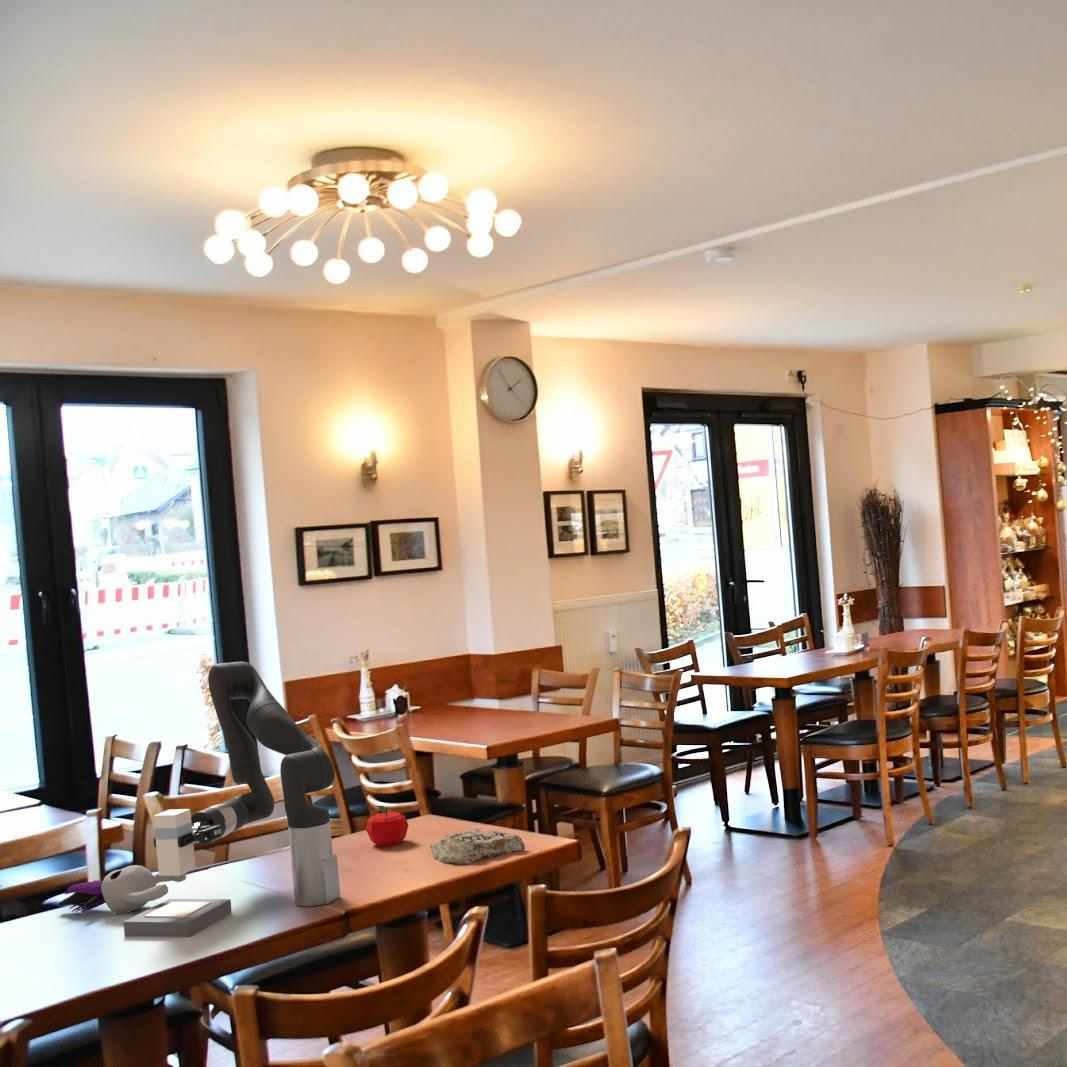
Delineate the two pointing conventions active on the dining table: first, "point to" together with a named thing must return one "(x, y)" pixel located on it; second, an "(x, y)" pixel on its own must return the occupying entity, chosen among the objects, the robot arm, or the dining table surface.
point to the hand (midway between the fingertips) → (167, 842)
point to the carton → (173, 842)
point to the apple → (387, 828)
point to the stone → (475, 846)
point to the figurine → (120, 890)
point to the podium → (177, 917)
